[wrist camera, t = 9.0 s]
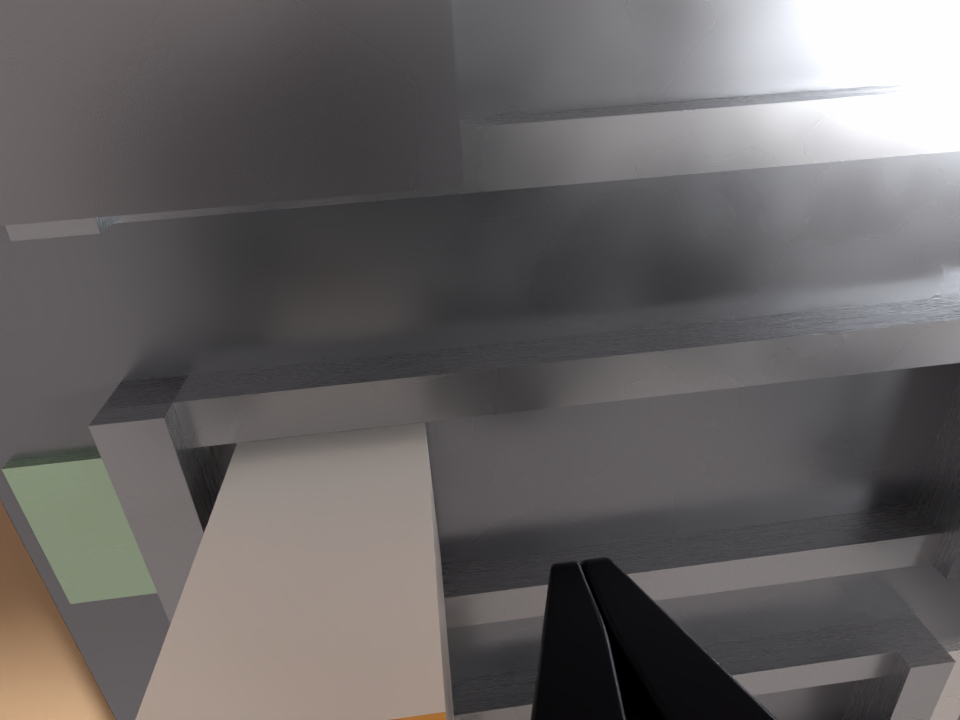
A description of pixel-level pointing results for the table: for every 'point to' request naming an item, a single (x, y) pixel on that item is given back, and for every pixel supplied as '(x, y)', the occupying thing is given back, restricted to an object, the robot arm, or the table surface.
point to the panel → (504, 312)
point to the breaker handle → (313, 588)
